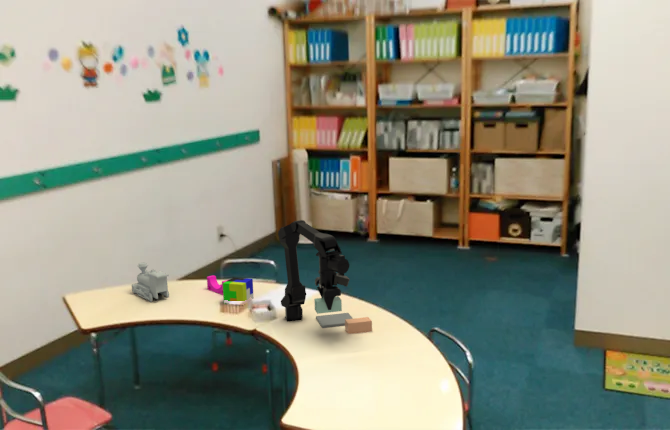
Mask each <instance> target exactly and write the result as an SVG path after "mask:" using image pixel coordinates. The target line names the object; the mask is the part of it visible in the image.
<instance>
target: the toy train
mask: <svg viewBox="0 0 670 430" xmlns="http://www.w3.org/2000/svg"><path fill="white" fill-rule="evenodd" d="M148 266H149V264H148V262H139V263H138V265H137V267H138V269H139V270H140V273H138V275H137V276H136V281H137V283H132V284H131V292H132V293H133V294H137V296H138V297H141V298H142V299H145V300H147V301H148V302H150V303H152V302H153V298H154V299H156V300H159V295H161V296H164V297H165V298H168V299H169V297H170V293H169V289H168V288H169V286H168V277H169V274H168V273H166V272H164V271H160V270H157V271H156V269H154V268H151V270H149V271H148V270H147V268H148ZM158 294H159V295H158Z"/></svg>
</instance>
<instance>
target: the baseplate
mask: <svg viewBox="0 0 670 430" xmlns="http://www.w3.org/2000/svg"><path fill="white" fill-rule="evenodd" d="M315 319H316V321H317V322H318V325H319V326H321V328H322V329H326V328H327V329H328V328H334V327H345V319H354V318H353V316H352V315H351V314H350V313H349V312H342V313H334V314H333V313H331V314H324V315H315Z"/></svg>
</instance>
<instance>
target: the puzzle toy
mask: <svg viewBox="0 0 670 430" xmlns="http://www.w3.org/2000/svg"><path fill="white" fill-rule="evenodd" d="M227 280H228V281H226V282H224V283H223V295H222V296H223V301H224V300H228V301H245V300H248V299H249V298H250V297H251V298H252V300H253V299H254V297H255V296H254V283H253V282H254V279H253V278H247V277H234V276H233V277H231V278H229V279H227Z"/></svg>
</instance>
